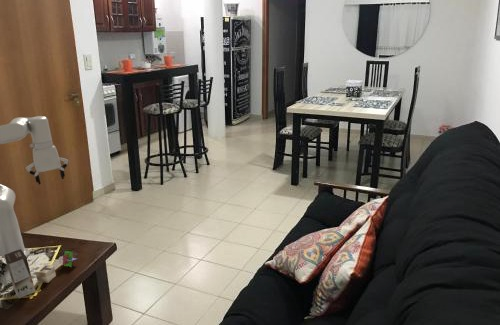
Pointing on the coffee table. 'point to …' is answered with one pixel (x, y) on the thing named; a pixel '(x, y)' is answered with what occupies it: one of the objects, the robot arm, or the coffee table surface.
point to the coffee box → (20, 273)
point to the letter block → (45, 273)
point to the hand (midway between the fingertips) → (51, 180)
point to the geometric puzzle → (67, 259)
